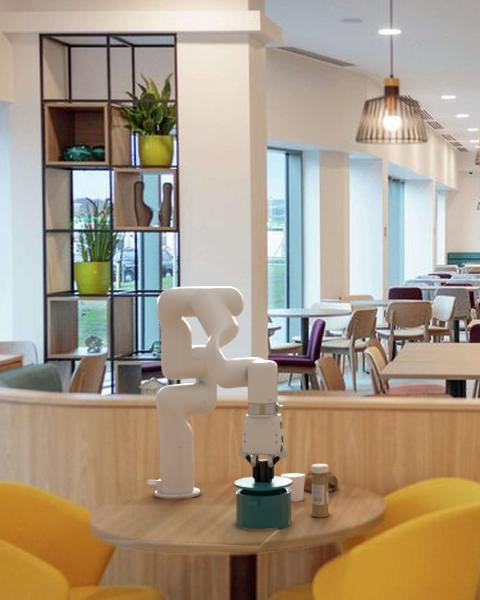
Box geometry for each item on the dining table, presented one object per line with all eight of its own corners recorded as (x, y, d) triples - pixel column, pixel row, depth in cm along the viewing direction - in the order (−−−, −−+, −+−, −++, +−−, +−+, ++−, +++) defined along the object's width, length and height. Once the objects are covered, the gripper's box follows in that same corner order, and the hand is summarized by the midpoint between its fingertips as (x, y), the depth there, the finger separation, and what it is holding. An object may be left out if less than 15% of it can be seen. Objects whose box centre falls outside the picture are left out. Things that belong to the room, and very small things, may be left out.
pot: (225, 532, 262) (225, 498, 262) (249, 514, 281) (249, 482, 281) (279, 534, 260) (278, 500, 260) (299, 516, 279) (299, 484, 278)
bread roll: (318, 506, 306) (327, 482, 303) (292, 487, 310) (301, 463, 308) (338, 499, 314) (347, 476, 312) (312, 481, 319) (321, 458, 317)
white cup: (307, 496, 301) (307, 472, 301) (302, 502, 294) (302, 477, 294) (283, 496, 302) (283, 471, 302) (278, 502, 295) (278, 476, 295)
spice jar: (332, 515, 280) (332, 464, 279) (321, 518, 276) (321, 467, 276) (319, 512, 283) (318, 462, 282) (307, 516, 279) (307, 465, 278)
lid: (226, 491, 264) (226, 464, 264) (244, 479, 279) (244, 454, 278) (283, 493, 262) (283, 466, 262) (298, 481, 276) (298, 455, 276)
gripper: (297, 408, 272) (298, 479, 273) (236, 406, 275) (237, 477, 275) (289, 412, 264) (290, 485, 265) (227, 410, 267) (228, 483, 268)
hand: (263, 480), depth 270 cm, fingers closed on lid, 2 cm apart
